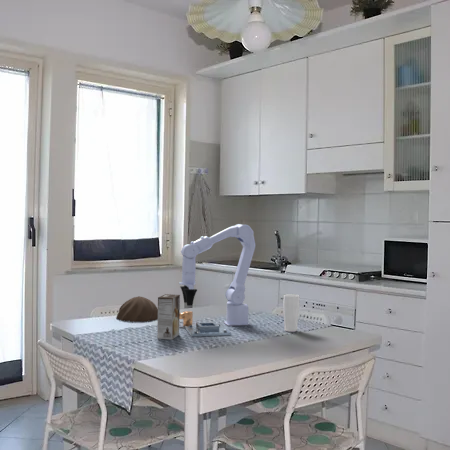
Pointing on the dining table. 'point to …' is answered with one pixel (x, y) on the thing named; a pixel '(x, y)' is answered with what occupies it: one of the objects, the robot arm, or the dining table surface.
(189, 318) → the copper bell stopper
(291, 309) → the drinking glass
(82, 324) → the dining table surface
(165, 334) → the coffee box
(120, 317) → the decorative dome
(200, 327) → the flange plate
